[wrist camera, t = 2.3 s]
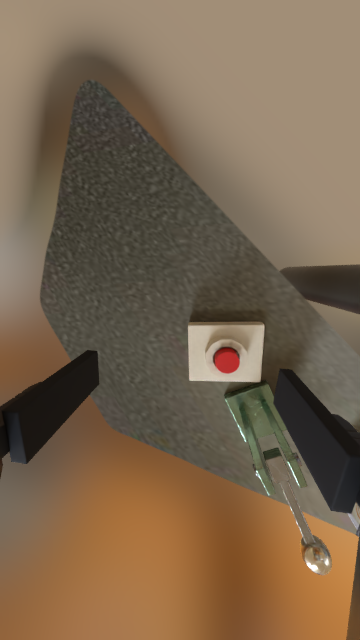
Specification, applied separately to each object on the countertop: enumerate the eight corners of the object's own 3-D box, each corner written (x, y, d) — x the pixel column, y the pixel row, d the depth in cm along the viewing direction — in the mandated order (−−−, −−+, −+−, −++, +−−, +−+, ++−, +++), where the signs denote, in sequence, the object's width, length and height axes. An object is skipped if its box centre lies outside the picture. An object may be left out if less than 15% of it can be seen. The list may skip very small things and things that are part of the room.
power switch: (284, 423, 37) (326, 499, 25) (244, 436, 39) (264, 513, 27) (265, 379, 36) (301, 438, 23) (224, 394, 37) (236, 456, 25)
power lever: (330, 554, 25) (343, 582, 22) (304, 558, 26) (313, 586, 23) (280, 445, 28) (286, 456, 25) (258, 451, 29) (261, 463, 26)
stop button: (238, 347, 31) (240, 351, 29) (237, 368, 32) (239, 374, 30) (214, 347, 31) (215, 351, 29) (214, 368, 32) (215, 373, 30)
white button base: (260, 321, 33) (268, 328, 29) (256, 375, 36) (263, 388, 32) (188, 322, 34) (187, 328, 30) (189, 374, 37) (188, 386, 33)
